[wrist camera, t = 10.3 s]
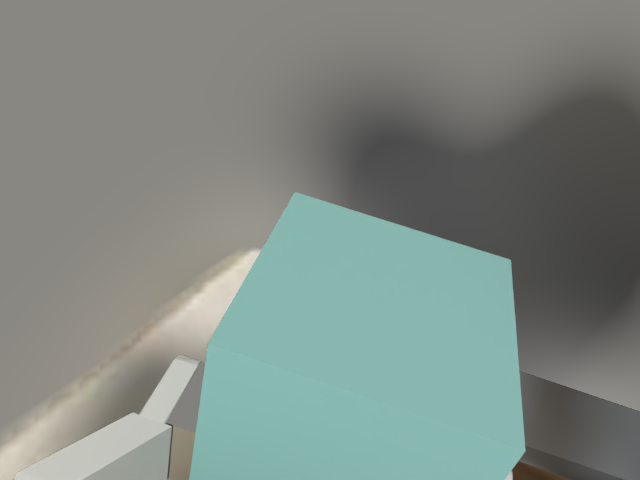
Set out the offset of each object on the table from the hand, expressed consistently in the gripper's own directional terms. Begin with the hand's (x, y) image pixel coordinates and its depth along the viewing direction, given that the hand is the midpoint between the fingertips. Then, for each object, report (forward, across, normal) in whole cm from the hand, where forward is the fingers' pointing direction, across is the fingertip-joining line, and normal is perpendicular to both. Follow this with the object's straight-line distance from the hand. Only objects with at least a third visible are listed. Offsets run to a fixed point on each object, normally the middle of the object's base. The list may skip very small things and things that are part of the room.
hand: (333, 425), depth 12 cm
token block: (-1, 0, +6) cm, 6 cm away
